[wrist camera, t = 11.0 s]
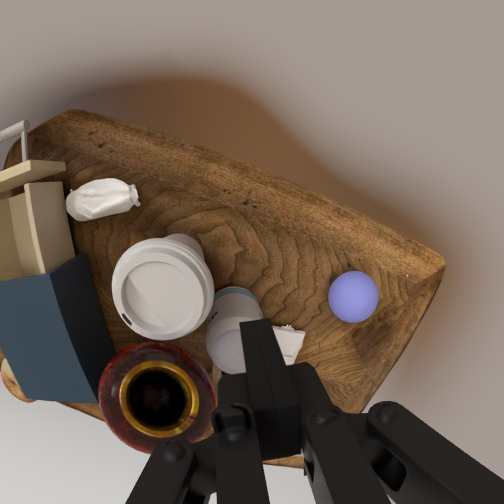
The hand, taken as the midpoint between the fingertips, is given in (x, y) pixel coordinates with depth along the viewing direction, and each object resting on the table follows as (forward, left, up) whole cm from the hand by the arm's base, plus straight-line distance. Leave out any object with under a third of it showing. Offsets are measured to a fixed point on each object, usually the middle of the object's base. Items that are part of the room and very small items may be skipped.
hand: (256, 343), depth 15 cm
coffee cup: (+1, -7, -25) cm, 26 cm away
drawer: (-10, -27, -24) cm, 38 cm away
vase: (+21, -16, -22) cm, 34 cm away
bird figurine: (-8, -16, -25) cm, 31 cm away
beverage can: (+9, -1, -25) cm, 27 cm away
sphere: (+9, +15, -25) cm, 30 cm away
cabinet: (+7, -27, -25) cm, 38 cm away
